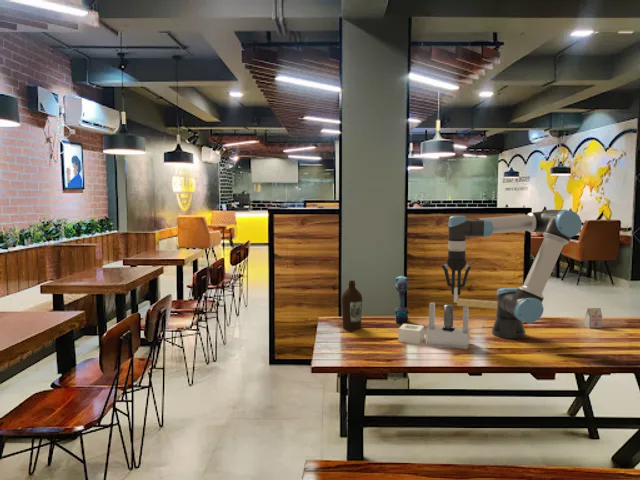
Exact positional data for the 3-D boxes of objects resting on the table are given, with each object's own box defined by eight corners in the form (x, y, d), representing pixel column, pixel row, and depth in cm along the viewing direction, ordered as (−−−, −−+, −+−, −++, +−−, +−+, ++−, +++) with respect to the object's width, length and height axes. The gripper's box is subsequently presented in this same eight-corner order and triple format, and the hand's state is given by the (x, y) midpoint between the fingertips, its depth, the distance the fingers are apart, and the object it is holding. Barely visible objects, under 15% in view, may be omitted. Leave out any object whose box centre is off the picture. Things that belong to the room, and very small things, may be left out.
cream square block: (423, 338, 224) (424, 325, 224) (419, 343, 215) (419, 331, 215) (403, 335, 228) (403, 323, 228) (398, 341, 219) (398, 328, 219)
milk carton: (584, 326, 245) (585, 307, 244) (597, 326, 245) (598, 307, 245) (589, 328, 241) (590, 309, 240) (601, 327, 242) (602, 308, 241)
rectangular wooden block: (497, 306, 207) (498, 301, 207) (497, 308, 204) (497, 303, 203) (458, 303, 214) (458, 298, 214) (456, 305, 210) (457, 300, 210)
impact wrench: (406, 316, 268) (406, 272, 266) (410, 326, 246) (410, 279, 244) (392, 315, 269) (392, 272, 267) (394, 326, 246) (395, 279, 244)
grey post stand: (469, 343, 216) (470, 304, 215) (467, 349, 207) (468, 308, 206) (430, 338, 223) (430, 300, 222) (426, 344, 214) (426, 305, 213)
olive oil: (337, 326, 245) (337, 279, 243) (354, 324, 250) (355, 277, 248) (348, 331, 236) (348, 282, 234) (366, 328, 241) (366, 280, 239)
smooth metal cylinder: (453, 338, 216) (453, 304, 215) (452, 341, 212) (452, 306, 211) (444, 338, 218) (445, 304, 216) (443, 340, 214) (443, 305, 213)
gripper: (472, 249, 211) (471, 301, 213) (443, 248, 216) (442, 299, 218) (471, 251, 204) (470, 304, 206) (440, 250, 210) (439, 302, 212)
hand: (455, 301), depth 212 cm, fingers closed
